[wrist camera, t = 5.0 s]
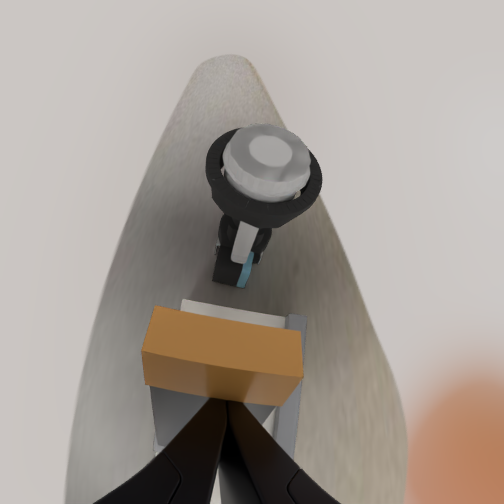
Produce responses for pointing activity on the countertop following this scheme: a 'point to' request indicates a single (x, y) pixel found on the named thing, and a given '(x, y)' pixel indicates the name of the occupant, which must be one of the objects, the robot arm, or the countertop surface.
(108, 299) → the countertop surface
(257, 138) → the push button
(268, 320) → the panel
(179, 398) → the lever
